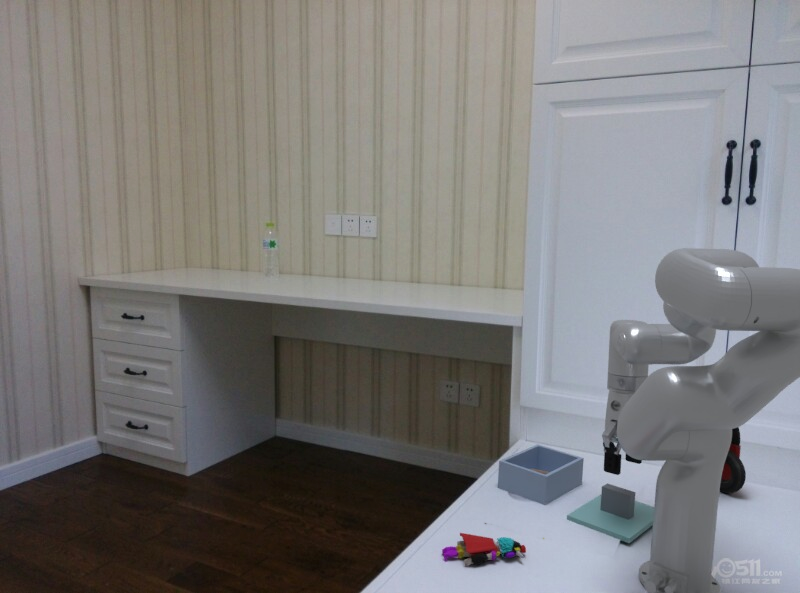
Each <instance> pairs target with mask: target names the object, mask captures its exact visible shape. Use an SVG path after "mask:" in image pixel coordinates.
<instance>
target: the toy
mask: <svg viewBox="0 0 800 593" xmlns="http://www.w3.org/2000/svg"><path fill="white" fill-rule="evenodd" d="M459 536H460V537H461V539H462V540H459V541H458V540H457V542H456V543H457V544H456V546H446V547H443V548H442V549H441V552H442V555H443V558H444V559H443V560H444V562H448V558H449V559H451V558H459V559H463V558H464V557H465V558H466V559H464V560H463V561H464V562H463V563H464V566H465V567H470V565H476V566H477V565H481V564H484V563H486V561H490V560H491V561H495V560H496V558H497V557H499V556H500V555H502V557H503V558H513V557H517V556H518V557H519V558H520V559H523V558H524V554H526V552H527V549H526V546H525V544H521V543H520V542H518V541H516V540H515V539H514V538H511V537H507V536H506V537H500V538H497V539H496V540H497V541H495V540H494V539H493V538H492V537H487V536H480V535H476V534H470V533H463V532H459Z"/></svg>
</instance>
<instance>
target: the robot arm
mask: <svg viewBox="0 0 800 593" xmlns="http://www.w3.org/2000/svg"><path fill="white" fill-rule="evenodd" d="M654 276H655V277H654V283H655V289H656V293H657V294H658V297H660V299H661V300H662V301H663V305H662V309H663V313H664V316H665V318H666V320H667V321H668V323H647V322H645V321H642V320H635V319H619V320H618V319H617V320H614V321H612V323H611V324H610V327H609V341H608V342H609V344H608V361H607V362H608V364H607V365H608V366H607V382H606V384H607V385H606V386H607V387H606V390H609V391H608V396H607V402H606V408H605V409H606V410H605V420H604V421H605V422H604V431H603V432H602V434H601V437H602V446H603V452H604V455H603V456H604V457H603V471H604V472H605V473H609V474H613V475H616V476H619V475H620V474H621V472H622V471H621V468H622V454H621V450H622V451H623V452H624V453H625V461H627V462H629V463H634V464H639V465H640V464H642V461H650V462H651V461H652V462H653V461H655V462H657V461H659V462H660V461H662V462H663V461H664V463H663V464H662V466H661V469H660V470H659V473H658V475H657V478H656V483H655V493H654V494H655V495H654V506H653V507H654V517H653V525H652V529H651V530H652V531H651V542H650V556H649V560H648V561H647V560H646V562H644V563H642V564H641V565H640V567H639V570H638V578H639V581H640V583H641V584H642V585H643V587H644V589H645V591H646V592H648V593H721V585H720V583H719V582H718V580H717V579H716V578H715V577H714V576H713V575H712V572H713V571H712V570H713V563H714V562H713V560H714V552H715V551H714V550H715V540H716V530H717V520H718V519H717V518H718V507H719V498H720V492H721V491H720V483H721V476H722V471H723V467H724V463H725V460H726V457H727V454H728V451H729V448H730V444H731V440H732V429H734V428H737V427H739V428H740V427H741V426H743V425H745V424H746V423H747V422H749V421H750V420H751V419H752V418H754V416H756V415H758V413H759V412H760V411H762V410H763V408H765V407H766V406H767V405H768V404H769V403H771V402H773V400H774V399H775V398H777V396H778V395H779V394H780V393H781V392H783V391H784V390H785V389H786V388H787V387H789V385H791V384H792V383H794V382H795V381H796V380H798V379H799V378H800V269H799V268H791V267H767V266H766V267H761V266H759V264H758V262H757V261H756V260H755V259H754V258H753V257H752V256H750V255H748V254H747V253H745V252H742V251H740V250H734V249H725V248H696V247H695V248H694V247H691V248H690V247H685V248H678V249H677V248H676V249H675V250H674V249H673V250H671V251H670V252H669V253H667V254H665V256H663V258H662V259H661V260H660V262H659V264H658V265H657V267H656V270H655V275H654ZM717 331H731V332H732V331H737V332H738V331H740V332H755V333H753V334H751V335H749V336H747V337H746V338H743V339H741V340H740V341H738V342H736V343H735V344H733V346H731V347H730V348H729V349H728V350H727V352H725V354H724V355H723V356H722V357H721V358H719V359H718V360H717V361H716V362H714V363H713V364H708V365H694V366H693V365H687V364H689V363H691V362H693V361H695V360H698V359H699V358H701V357H702V356H703V355H704V354H706V353H707V352H708V351H709V350H711V348H712V347H713V344H714V342H715V340H716V339H715V338H716V335H717ZM649 365H670V366H665V367H661V368H659V369H657V370H655V371H652V372H651V373H650V374H649ZM671 365H673V366H671ZM674 365H675V366H674ZM681 365H682V366H681ZM615 444H616V445H615Z"/></svg>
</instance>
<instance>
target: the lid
mask: <svg viewBox="0 0 800 593" xmlns="http://www.w3.org/2000/svg"><path fill="white" fill-rule="evenodd" d="M600 493H601V494H600V495H597V497H596V496H595V498H593V499H591V500H589V501H588V502H586V503H584V504H583V505H581V506H580V507H578V508H576V509H575V510H573V511H571V512H570V513H568V514H567V515H566V520H567V521H569V522H573V523H575V524H577V525H581V526H583V527H585V528H589V529H591V530H594V531H597V532H599V533H601V534H604V535H607V536H610V537H612V538H615V539H618V540H620V541H622V542H625V543H627V544H630V543H632V542H633V541H635V540H636V539H637V538H638V537H639V536H641V535H642V534H643V533H644V532H646V531H647V530H648V529H649V528H651V527H653V517H654V506H651V505H649V504H646V503H643V502H640V501H637V500H636V492H635V491H632V490H629V489H626V488H624V487H621V486H617V485H614V484H610V483H605V484H604V485H602V486H601V492H600Z"/></svg>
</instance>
